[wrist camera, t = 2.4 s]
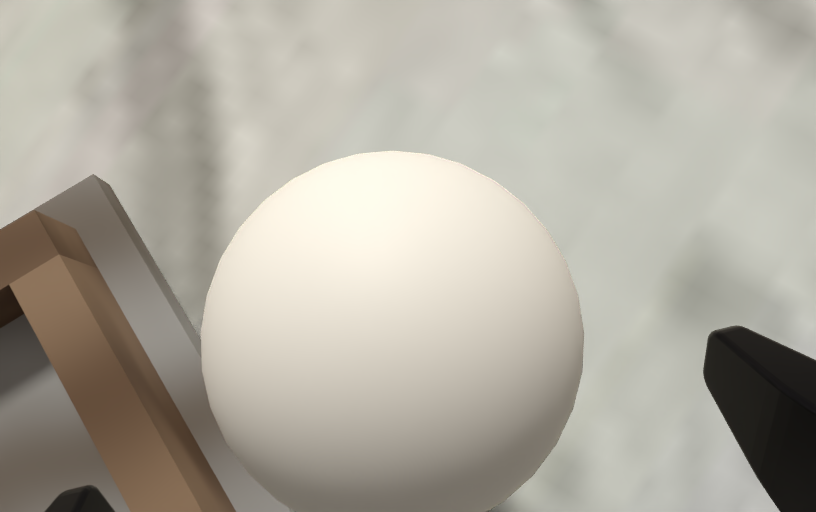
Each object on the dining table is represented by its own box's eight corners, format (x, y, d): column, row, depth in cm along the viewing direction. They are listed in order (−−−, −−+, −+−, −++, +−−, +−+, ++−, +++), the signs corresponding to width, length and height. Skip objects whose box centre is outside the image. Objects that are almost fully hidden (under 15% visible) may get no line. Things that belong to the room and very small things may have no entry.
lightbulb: (400, 513, 17) (381, 734, 6) (254, 356, 18) (21, 316, 7) (548, 356, 18) (754, 318, 7) (401, 214, 19) (389, -10, 8)
